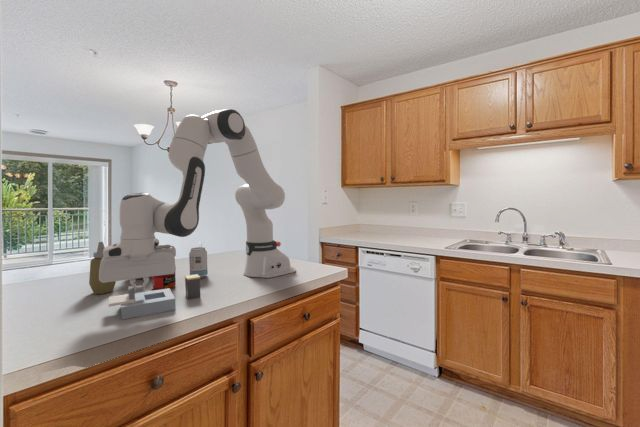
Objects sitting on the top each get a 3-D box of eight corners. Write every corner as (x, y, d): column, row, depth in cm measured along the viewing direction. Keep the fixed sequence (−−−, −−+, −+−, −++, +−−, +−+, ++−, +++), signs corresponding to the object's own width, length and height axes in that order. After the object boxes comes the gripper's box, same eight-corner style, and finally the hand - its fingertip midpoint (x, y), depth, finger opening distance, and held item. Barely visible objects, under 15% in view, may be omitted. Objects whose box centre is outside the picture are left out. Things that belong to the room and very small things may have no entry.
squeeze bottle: (84, 296, 111) (81, 244, 109) (97, 288, 119) (94, 240, 117) (110, 295, 112) (107, 243, 111) (120, 287, 120) (118, 239, 118)
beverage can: (210, 275, 137) (210, 247, 137) (202, 279, 131) (201, 250, 130) (195, 274, 139) (194, 246, 138) (186, 278, 132) (185, 249, 131)
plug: (198, 293, 114) (197, 274, 113) (200, 297, 110) (200, 276, 110) (185, 295, 111) (184, 275, 111) (187, 299, 108) (187, 278, 107)
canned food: (167, 291, 116) (165, 261, 115) (147, 290, 117) (146, 260, 117) (180, 285, 123) (179, 256, 123) (161, 283, 125) (160, 255, 124)
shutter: (134, 295, 101) (133, 284, 100) (135, 302, 95) (135, 290, 95) (109, 299, 97) (108, 288, 97) (108, 306, 91) (108, 294, 91)
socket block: (169, 298, 109) (169, 288, 108) (175, 309, 99) (175, 298, 98) (121, 306, 101) (120, 295, 101) (121, 319, 91) (121, 307, 91)
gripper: (173, 242, 105) (175, 284, 107) (97, 248, 94) (100, 294, 96) (177, 245, 100) (178, 289, 101) (97, 252, 89) (99, 301, 90)
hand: (139, 292), depth 98 cm, fingers closed
